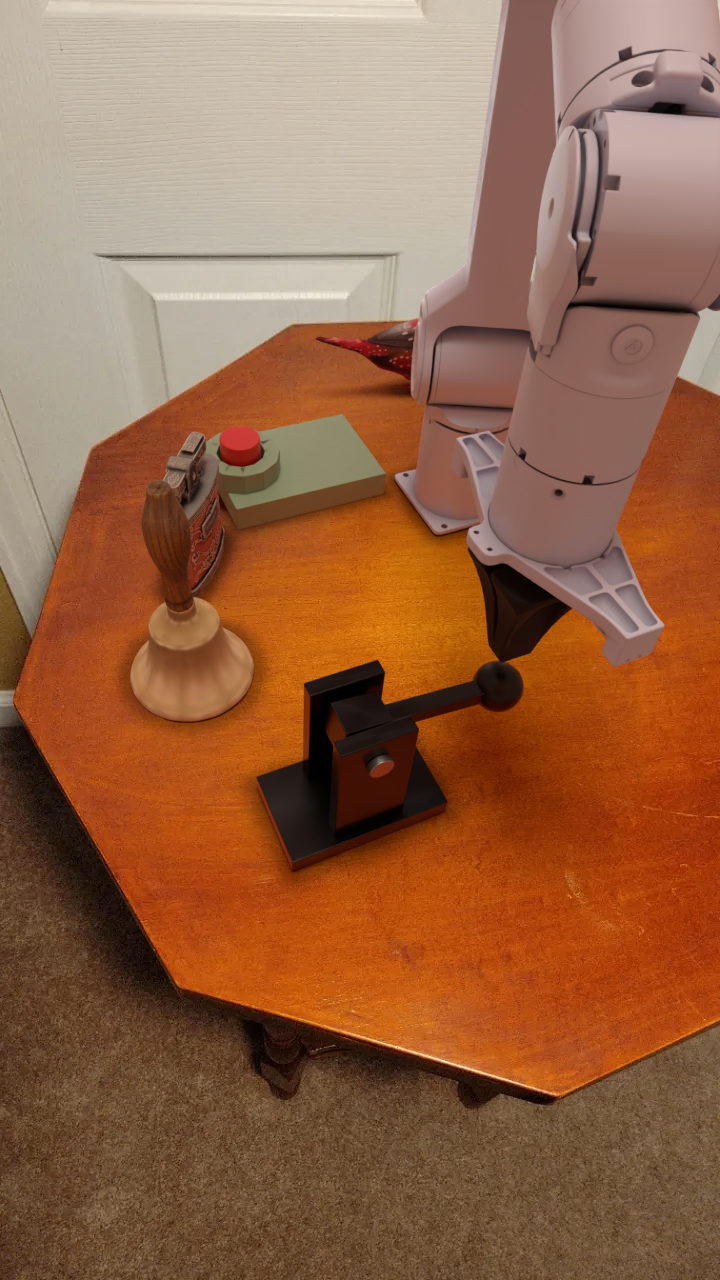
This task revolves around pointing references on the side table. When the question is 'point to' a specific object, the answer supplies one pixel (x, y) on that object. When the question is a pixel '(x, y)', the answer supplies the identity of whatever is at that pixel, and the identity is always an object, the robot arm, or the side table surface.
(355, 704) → the black lever handle
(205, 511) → the lighter
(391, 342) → the decorative bird figurine
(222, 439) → the button
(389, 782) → the lever base
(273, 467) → the button box
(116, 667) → the side table surface
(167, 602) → the hand bell
